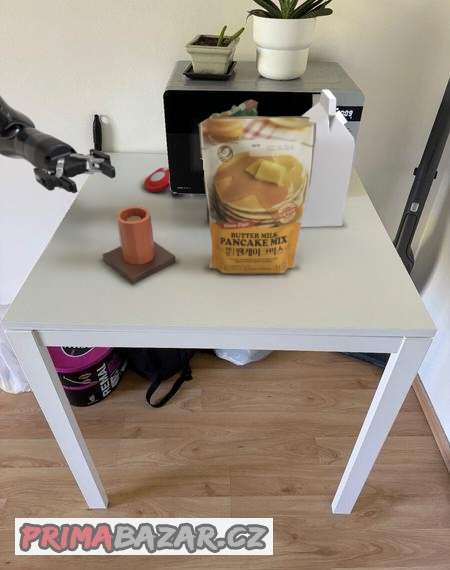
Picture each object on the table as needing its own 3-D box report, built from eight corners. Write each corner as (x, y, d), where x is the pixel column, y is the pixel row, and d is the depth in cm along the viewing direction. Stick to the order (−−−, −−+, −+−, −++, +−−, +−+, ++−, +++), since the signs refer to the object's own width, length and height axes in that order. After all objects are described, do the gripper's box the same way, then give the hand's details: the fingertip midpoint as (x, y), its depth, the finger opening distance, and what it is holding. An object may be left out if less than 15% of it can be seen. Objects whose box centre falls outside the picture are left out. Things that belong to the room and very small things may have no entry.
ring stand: (133, 284, 81) (126, 241, 75) (103, 260, 86) (94, 218, 80) (175, 262, 86) (172, 220, 80) (145, 241, 92) (140, 200, 86)
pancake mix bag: (202, 254, 88) (198, 111, 70) (297, 254, 88) (318, 112, 71) (201, 275, 83) (197, 126, 65) (303, 275, 83) (326, 127, 65)
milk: (281, 200, 106) (293, 85, 89) (328, 199, 106) (349, 84, 90) (290, 227, 96) (305, 104, 80) (342, 226, 97) (368, 103, 80)
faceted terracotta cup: (127, 267, 82) (120, 226, 76) (119, 250, 86) (112, 210, 81) (158, 260, 84) (154, 219, 78) (149, 243, 88) (144, 203, 83)
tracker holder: (135, 187, 108) (153, 162, 113) (143, 201, 111) (159, 176, 116) (178, 185, 102) (194, 159, 108) (185, 200, 105) (200, 174, 111)
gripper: (12, 147, 86) (56, 174, 77) (76, 128, 94) (122, 150, 85) (23, 183, 90) (66, 211, 82) (83, 161, 98) (128, 185, 90)
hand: (94, 180), depth 84 cm, fingers open, 8 cm apart
